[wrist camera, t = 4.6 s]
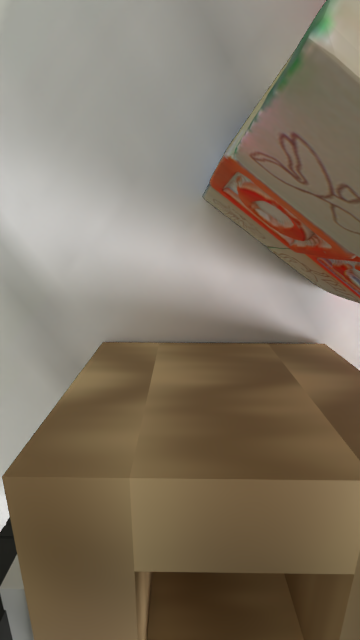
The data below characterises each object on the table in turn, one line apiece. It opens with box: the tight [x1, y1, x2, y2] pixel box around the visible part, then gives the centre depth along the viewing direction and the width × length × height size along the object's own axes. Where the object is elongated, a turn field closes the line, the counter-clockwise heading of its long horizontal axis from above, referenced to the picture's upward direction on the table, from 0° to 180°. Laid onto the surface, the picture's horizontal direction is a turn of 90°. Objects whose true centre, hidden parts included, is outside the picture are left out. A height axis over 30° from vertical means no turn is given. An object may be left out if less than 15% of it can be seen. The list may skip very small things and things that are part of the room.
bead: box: [2, 342, 360, 640], centre depth 10 cm, size 9×9×7 cm
